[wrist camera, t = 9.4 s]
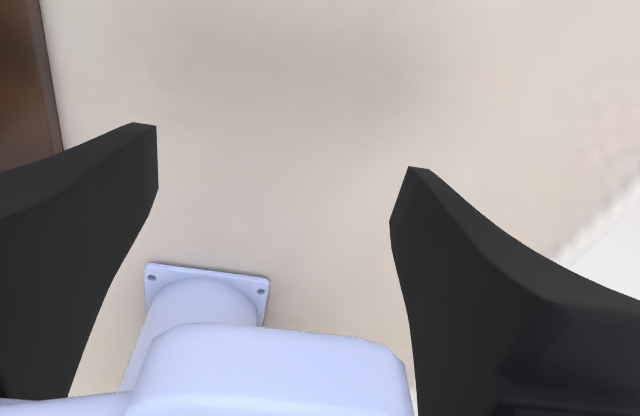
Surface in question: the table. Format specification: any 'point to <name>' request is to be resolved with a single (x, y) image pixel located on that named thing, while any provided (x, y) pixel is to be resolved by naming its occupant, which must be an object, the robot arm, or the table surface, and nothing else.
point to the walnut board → (25, 88)
